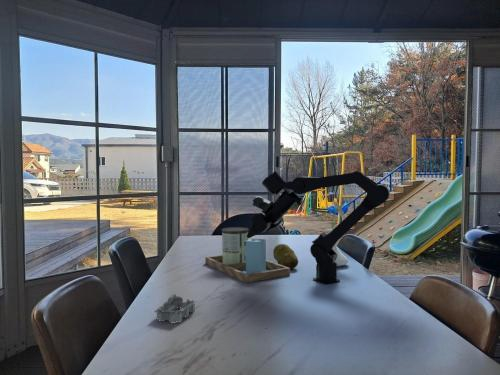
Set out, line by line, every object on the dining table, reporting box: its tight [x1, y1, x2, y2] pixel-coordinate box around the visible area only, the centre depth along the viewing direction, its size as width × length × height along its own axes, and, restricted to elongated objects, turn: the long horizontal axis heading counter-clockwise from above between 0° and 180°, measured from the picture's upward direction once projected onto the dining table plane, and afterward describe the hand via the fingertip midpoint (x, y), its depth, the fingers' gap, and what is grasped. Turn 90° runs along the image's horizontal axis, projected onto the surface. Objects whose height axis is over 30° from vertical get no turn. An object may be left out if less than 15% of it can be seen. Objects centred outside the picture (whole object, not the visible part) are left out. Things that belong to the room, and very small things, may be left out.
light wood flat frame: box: [204, 254, 291, 284], centre depth 145 cm, size 31×18×2 cm, turn 32°
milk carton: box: [245, 236, 267, 274], centre depth 139 cm, size 6×6×13 cm
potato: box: [272, 243, 299, 270], centre depth 149 cm, size 8×13×8 cm, turn 5°
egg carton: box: [154, 293, 197, 323], centre depth 99 cm, size 11×8×4 cm
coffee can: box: [221, 226, 250, 265], centre depth 152 cm, size 10×10×14 cm
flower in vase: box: [326, 200, 349, 267], centre depth 152 cm, size 13×11×25 cm
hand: (252, 235), depth 139 cm, fingers open, 9 cm apart
